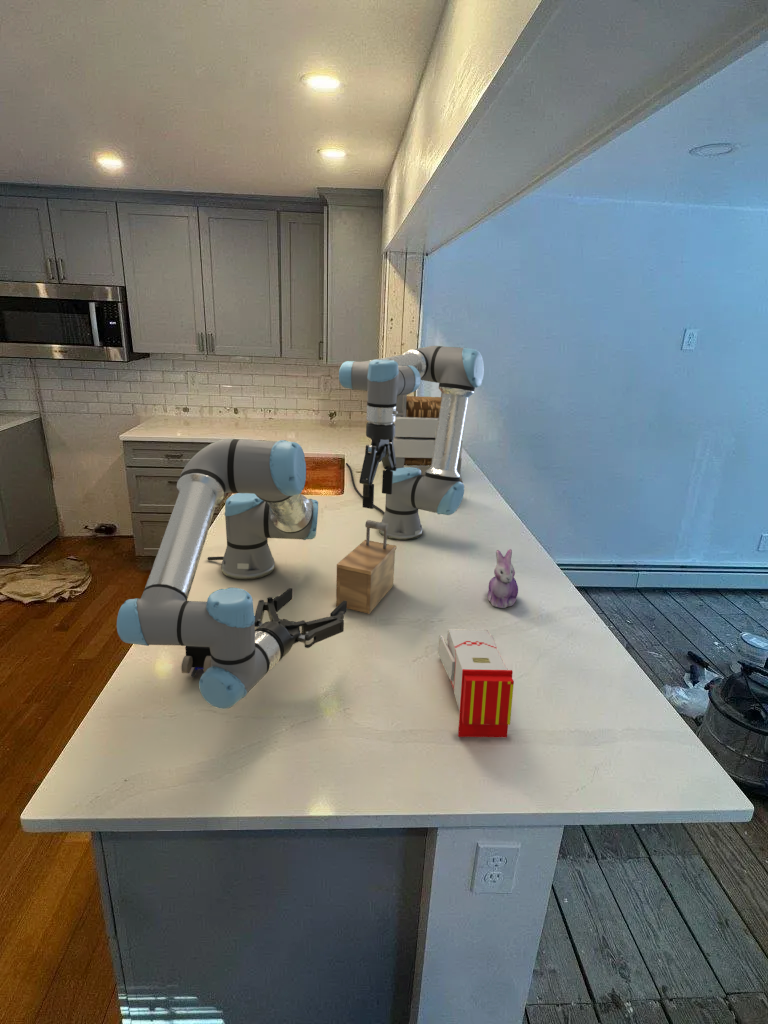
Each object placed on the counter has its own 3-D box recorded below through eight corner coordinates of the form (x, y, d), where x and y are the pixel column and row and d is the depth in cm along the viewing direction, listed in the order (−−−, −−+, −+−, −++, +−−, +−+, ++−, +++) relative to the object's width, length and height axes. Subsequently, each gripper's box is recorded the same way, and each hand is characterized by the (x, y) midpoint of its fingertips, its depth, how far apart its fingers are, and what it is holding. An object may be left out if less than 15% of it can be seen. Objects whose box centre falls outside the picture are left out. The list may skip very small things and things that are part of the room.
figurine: (500, 612, 150) (506, 561, 145) (477, 595, 159) (482, 546, 153) (527, 605, 154) (535, 555, 149) (504, 589, 163) (510, 541, 158)
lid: (365, 542, 163) (365, 515, 160) (396, 549, 159) (397, 520, 157) (336, 567, 146) (337, 537, 143) (370, 575, 143) (372, 544, 140)
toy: (488, 613, 130) (523, 677, 101) (484, 667, 133) (517, 744, 104) (435, 612, 130) (455, 676, 101) (432, 666, 133) (451, 743, 103)
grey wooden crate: (382, 463, 289) (386, 382, 275) (445, 464, 293) (451, 384, 279) (390, 482, 257) (394, 392, 243) (460, 483, 261) (468, 394, 247)
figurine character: (214, 689, 118) (231, 642, 131) (211, 660, 114) (228, 615, 128) (182, 688, 118) (201, 641, 131) (177, 659, 114) (198, 614, 128)
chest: (362, 579, 166) (363, 544, 162) (393, 585, 162) (395, 550, 159) (336, 605, 150) (336, 567, 146) (369, 613, 147) (370, 575, 143)
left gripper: (211, 648, 113) (269, 603, 132) (323, 680, 105) (368, 627, 124) (209, 615, 111) (268, 573, 130) (323, 645, 103) (369, 596, 121)
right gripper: (376, 432, 134) (372, 516, 141) (410, 416, 156) (406, 490, 163) (347, 428, 136) (345, 511, 143) (385, 413, 158) (381, 486, 165)
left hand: (317, 599), depth 127 cm, fingers open, 13 cm apart
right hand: (377, 500), depth 153 cm, fingers open, 13 cm apart
